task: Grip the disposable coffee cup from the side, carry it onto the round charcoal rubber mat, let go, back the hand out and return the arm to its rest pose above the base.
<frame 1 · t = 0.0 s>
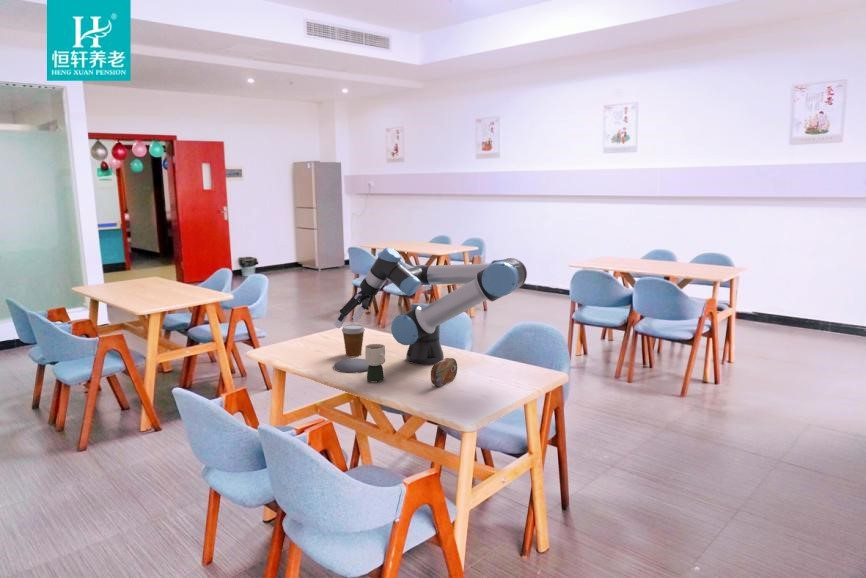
hand: (345, 322, 238), 15 cm above the table, tool tilted 35°, fingers open, 13 cm apart
disposable coffee cup: (353, 355, 247), on the table
character mug: (375, 381, 214), on the table
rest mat: (354, 366, 231), on the table
tin: (443, 383, 213), on the table
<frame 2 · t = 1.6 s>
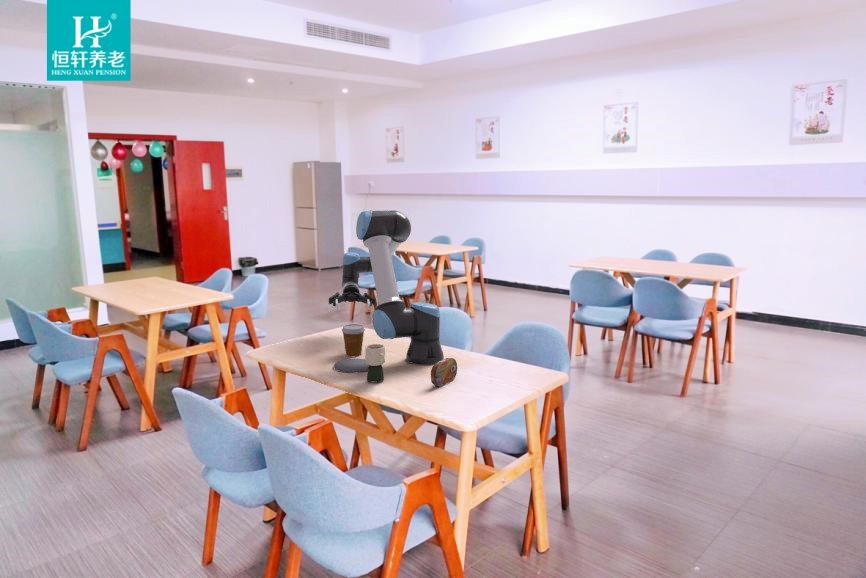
hand: (353, 307, 251), 19 cm above the table, tool horizontal, fingers open, 13 cm apart
nothing on the table moved.
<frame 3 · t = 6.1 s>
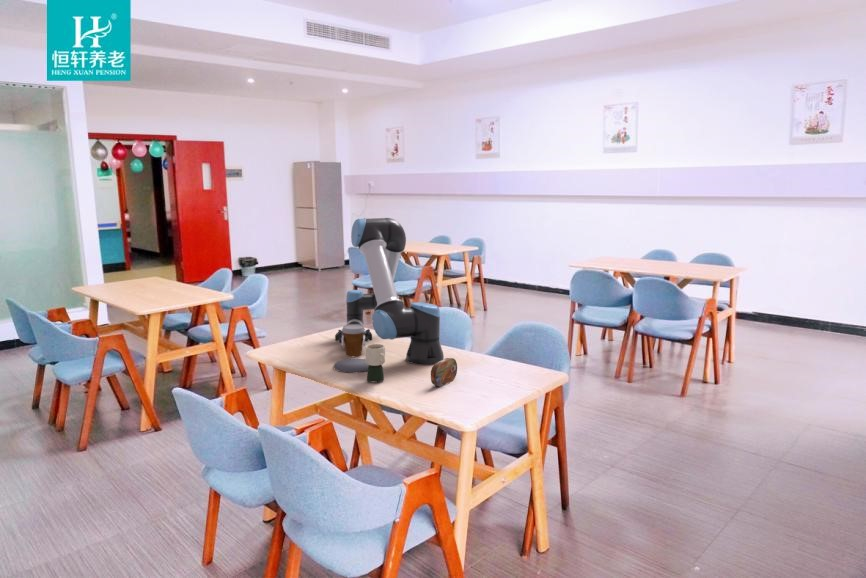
hand: (353, 342, 241), 7 cm above the table, tool horizontal, fingers closed on disposable coffee cup, 8 cm apart
disposable coffee cup: (353, 354, 247), on the table, touching gripper
everything else where it was.
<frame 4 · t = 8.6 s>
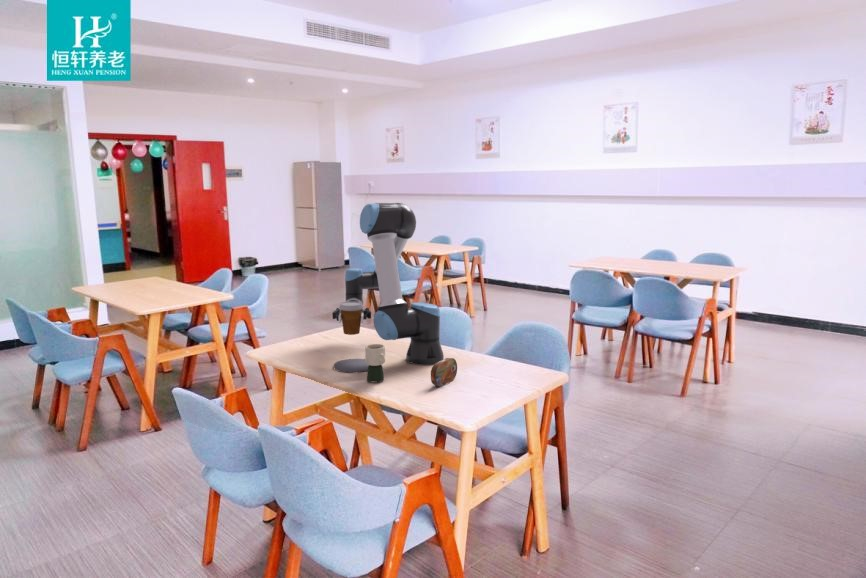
hand: (350, 319, 231), 18 cm above the table, tool horizontal, fingers closed on disposable coffee cup, 8 cm apart
disposable coffee cup: (351, 333, 237), point 11 cm above the table, touching gripper
everything else where it was.
when the fingers open (9 cm above the table, at t = 11.3 s): disposable coffee cup drops 1 cm, resting on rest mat.
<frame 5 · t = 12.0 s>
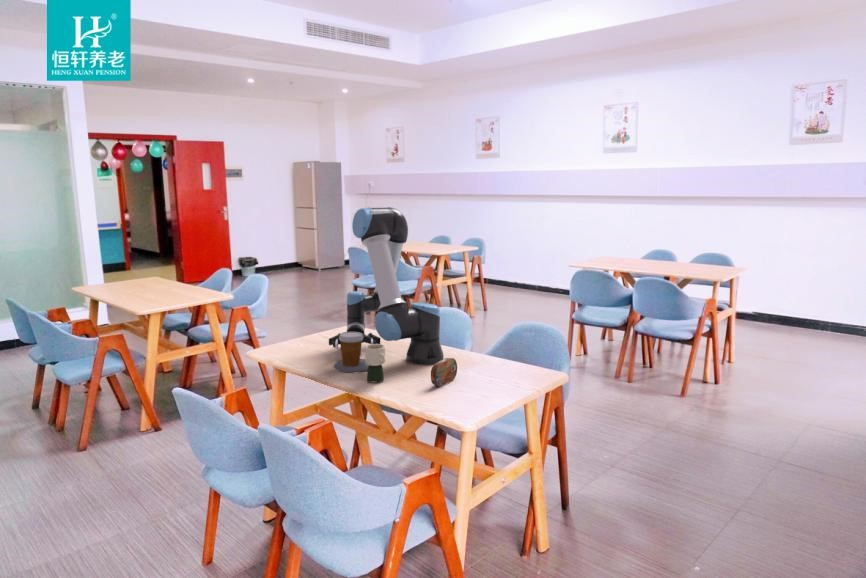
hand: (354, 346, 226), 9 cm above the table, tool horizontal, fingers open, 13 cm apart
disposable coffee cup: (351, 364, 231), point 1 cm above the table, touching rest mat
everything else where it was.
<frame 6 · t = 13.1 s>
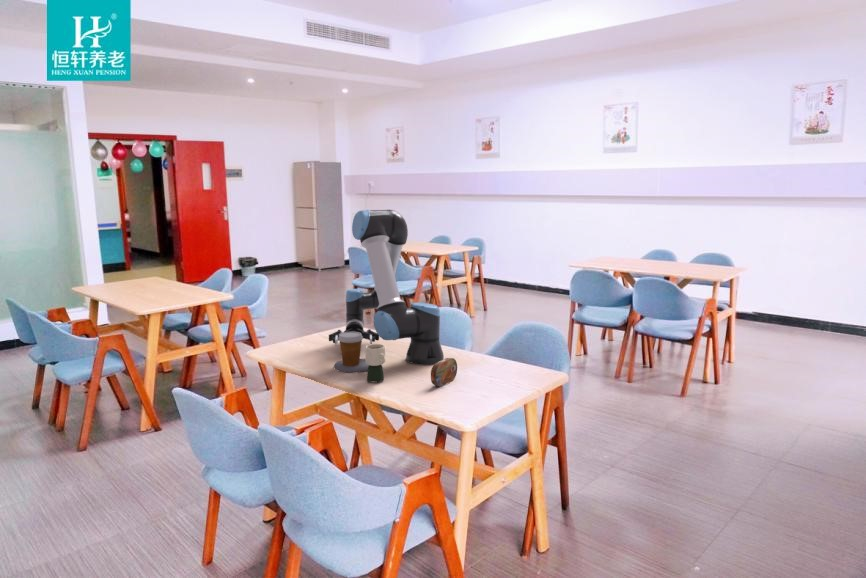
hand: (353, 342, 232), 9 cm above the table, tool horizontal, fingers open, 13 cm apart
nothing on the table moved.
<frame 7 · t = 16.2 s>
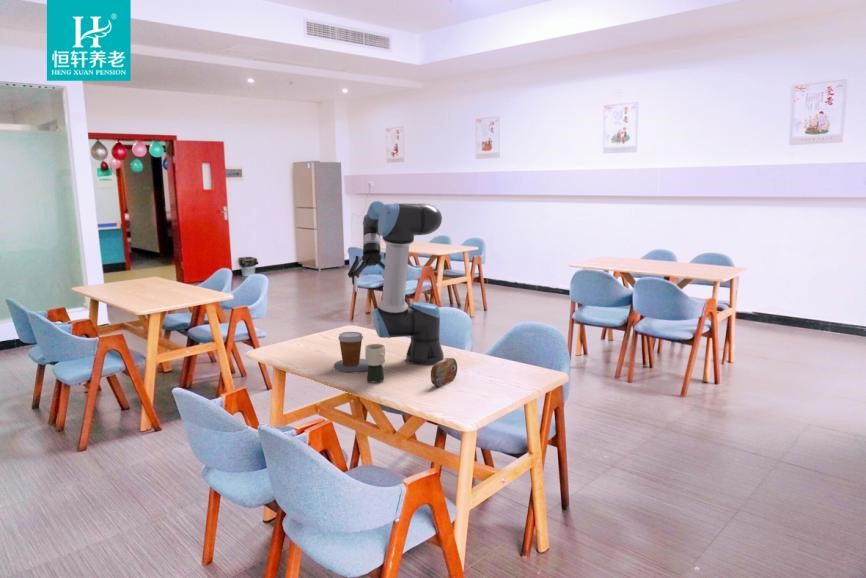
hand: (371, 289, 247), 27 cm above the table, tool tilted 40°, fingers open, 13 cm apart
nothing on the table moved.
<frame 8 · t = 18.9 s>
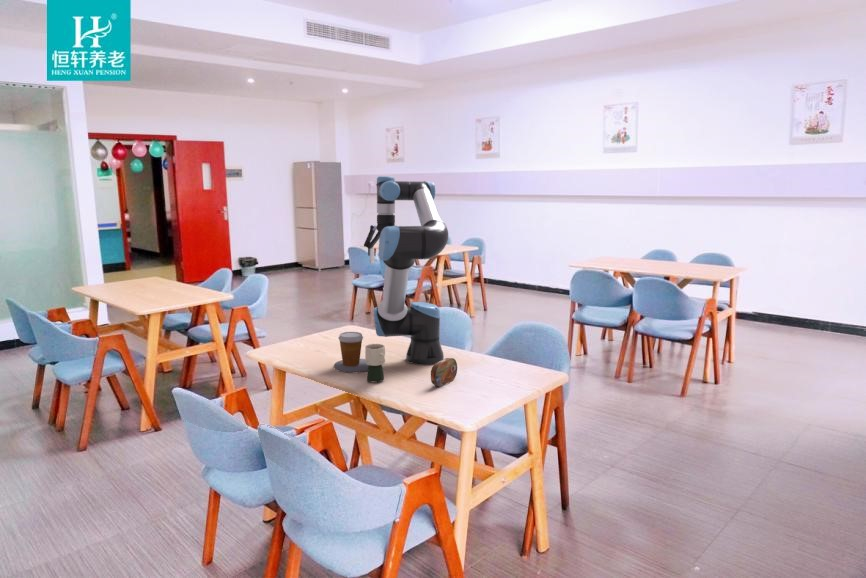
hand: (386, 264, 250), 37 cm above the table, tool pointing down, fingers open, 13 cm apart
nothing on the table moved.
at the end: disposable coffee cup inside the target area on the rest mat (1.4 cm from its centre), point 0.6 cm above the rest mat's base; disposable coffee cup tilted 0°; the gripper is holding nothing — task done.
